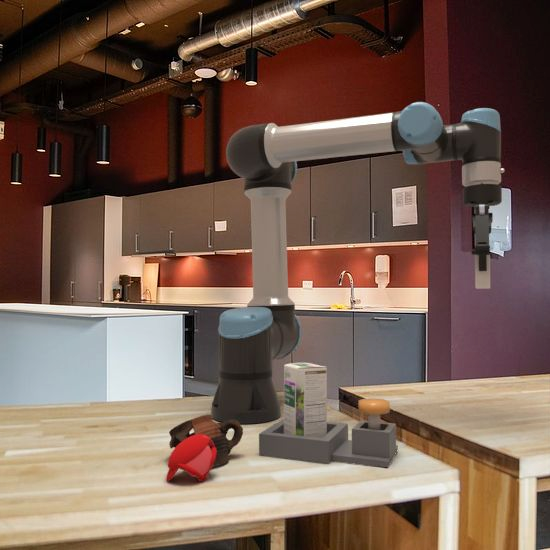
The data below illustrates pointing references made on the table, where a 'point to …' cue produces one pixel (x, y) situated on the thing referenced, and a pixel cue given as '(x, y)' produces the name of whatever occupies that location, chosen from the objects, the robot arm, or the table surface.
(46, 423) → the table surface
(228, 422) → the pottery mug
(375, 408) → the plunger
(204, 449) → the cap
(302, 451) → the grey rectangular open-box piece
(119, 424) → the table surface
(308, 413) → the syrup box
